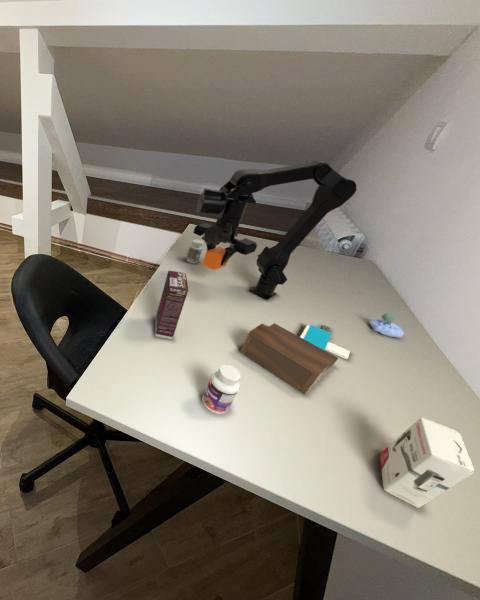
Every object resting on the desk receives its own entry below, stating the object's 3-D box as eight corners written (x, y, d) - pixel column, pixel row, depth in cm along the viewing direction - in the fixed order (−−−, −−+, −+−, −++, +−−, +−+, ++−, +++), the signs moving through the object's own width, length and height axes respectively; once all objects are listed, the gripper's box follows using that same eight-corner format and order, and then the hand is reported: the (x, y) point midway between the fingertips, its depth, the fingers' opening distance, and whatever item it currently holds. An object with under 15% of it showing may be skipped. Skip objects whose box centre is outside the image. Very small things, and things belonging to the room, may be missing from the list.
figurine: (372, 333, 91) (387, 315, 87) (364, 320, 96) (377, 303, 93) (405, 341, 89) (421, 323, 85) (395, 328, 94) (410, 310, 90)
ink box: (377, 452, 59) (420, 414, 52) (410, 467, 57) (459, 430, 50) (382, 491, 53) (431, 453, 46) (419, 510, 51) (476, 473, 44)
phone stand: (341, 376, 75) (345, 371, 74) (288, 350, 82) (291, 346, 81) (352, 339, 88) (356, 335, 87) (306, 320, 94) (308, 315, 93)
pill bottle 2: (197, 393, 68) (211, 361, 62) (220, 393, 68) (236, 361, 63) (207, 415, 63) (223, 382, 58) (232, 414, 64) (250, 382, 58)
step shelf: (269, 331, 88) (280, 311, 84) (332, 366, 78) (347, 345, 74) (239, 351, 80) (249, 331, 76) (304, 394, 70) (320, 373, 66)
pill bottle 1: (196, 264, 120) (202, 244, 116) (184, 261, 122) (190, 241, 117) (199, 260, 124) (205, 241, 119) (187, 257, 126) (193, 237, 121)
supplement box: (173, 340, 82) (189, 289, 73) (154, 336, 83) (168, 286, 74) (172, 320, 89) (186, 272, 80) (155, 317, 90) (167, 269, 81)
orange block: (214, 260, 105) (219, 246, 102) (226, 265, 102) (231, 251, 100) (201, 264, 102) (206, 250, 99) (213, 270, 99) (218, 256, 96)
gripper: (189, 209, 95) (176, 255, 103) (246, 231, 82) (226, 281, 91) (211, 205, 100) (197, 249, 109) (267, 224, 88) (246, 272, 97)
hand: (215, 262), depth 101 cm, fingers closed on orange block, 4 cm apart
